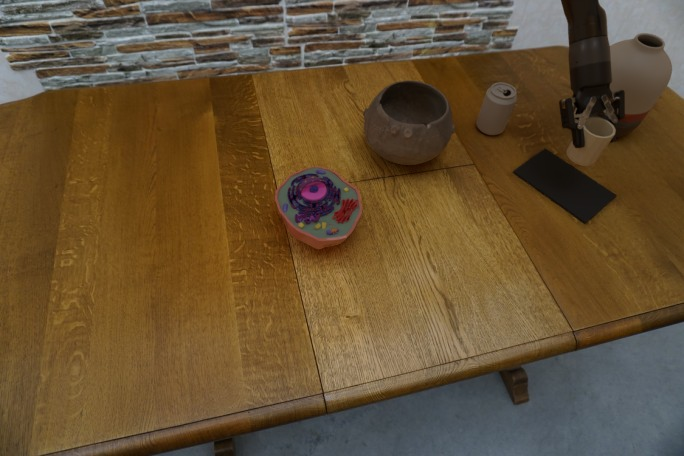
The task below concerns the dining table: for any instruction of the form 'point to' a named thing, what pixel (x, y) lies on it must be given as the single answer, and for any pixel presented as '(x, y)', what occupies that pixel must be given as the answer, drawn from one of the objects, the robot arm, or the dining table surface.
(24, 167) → the dining table surface
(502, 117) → the can
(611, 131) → the cup
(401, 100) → the clay pot
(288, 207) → the cell model
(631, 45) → the vase
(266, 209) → the dining table surface
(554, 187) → the mat
